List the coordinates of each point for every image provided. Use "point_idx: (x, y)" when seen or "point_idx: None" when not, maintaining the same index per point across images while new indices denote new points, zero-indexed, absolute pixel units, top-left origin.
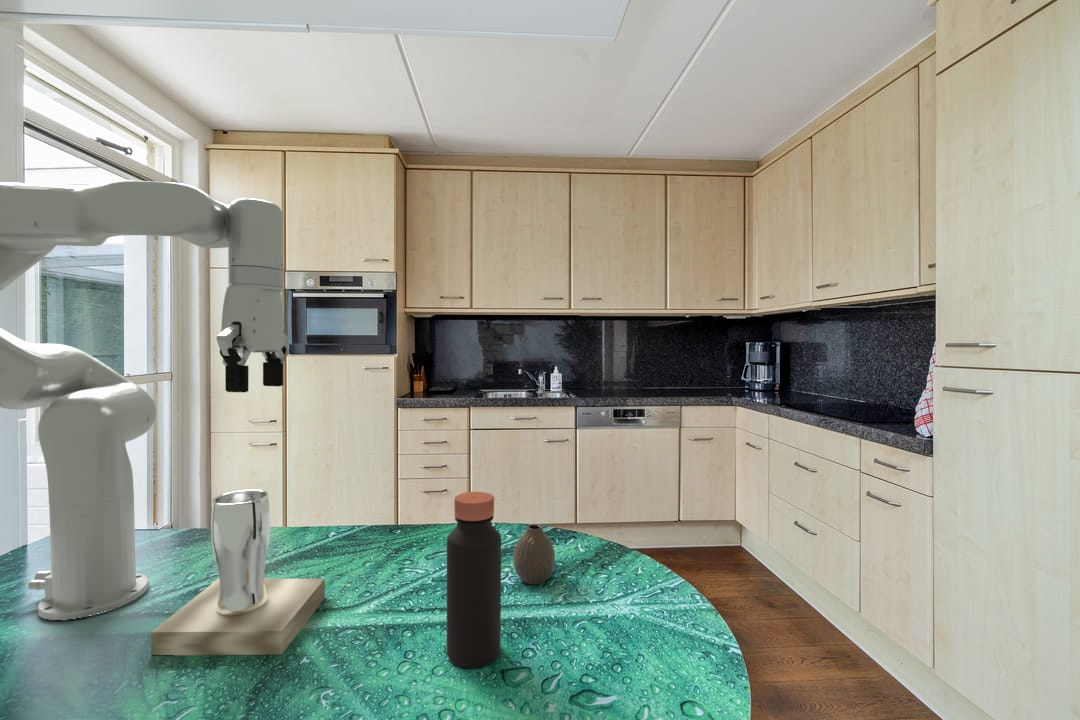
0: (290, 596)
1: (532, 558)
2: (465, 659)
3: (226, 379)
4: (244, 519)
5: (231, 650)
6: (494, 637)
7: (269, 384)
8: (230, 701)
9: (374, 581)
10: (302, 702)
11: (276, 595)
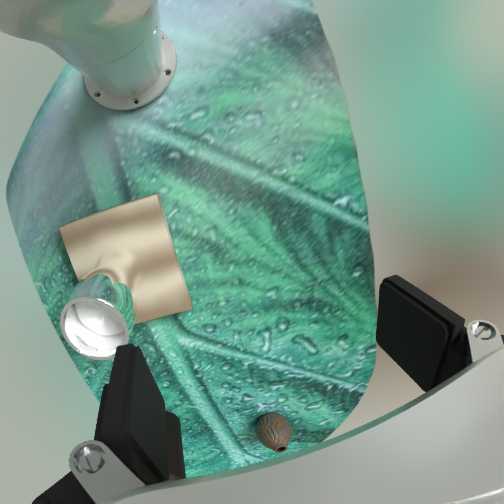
0: (148, 301)
1: (259, 439)
2: None
3: (113, 380)
4: (83, 340)
5: None
6: None
7: (381, 306)
8: (59, 323)
9: (235, 321)
10: (80, 362)
11: (145, 287)
